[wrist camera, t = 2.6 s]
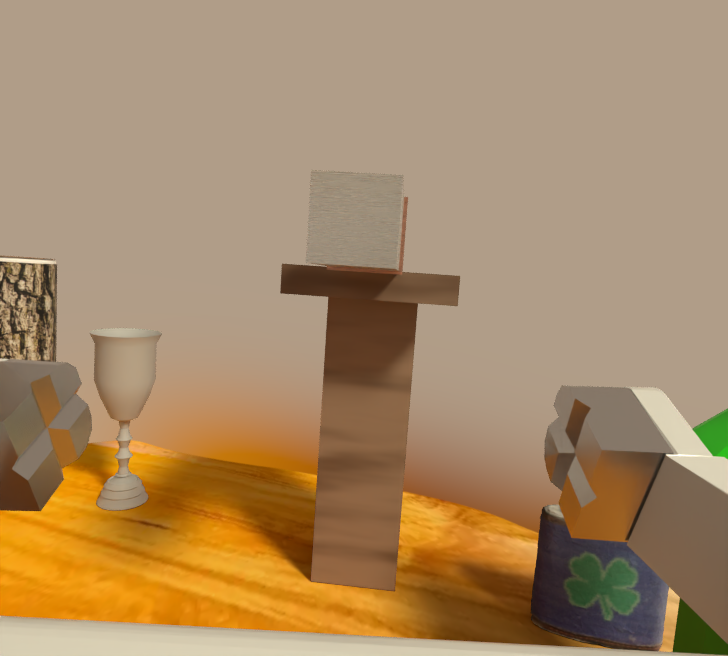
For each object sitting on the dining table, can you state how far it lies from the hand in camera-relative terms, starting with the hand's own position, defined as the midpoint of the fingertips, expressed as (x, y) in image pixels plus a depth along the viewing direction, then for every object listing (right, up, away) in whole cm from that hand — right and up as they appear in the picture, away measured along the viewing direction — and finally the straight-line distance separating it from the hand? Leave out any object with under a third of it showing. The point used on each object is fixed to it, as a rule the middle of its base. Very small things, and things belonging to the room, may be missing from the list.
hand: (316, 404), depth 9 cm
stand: (0, -20, +35) cm, 41 cm away
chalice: (-25, -17, +46) cm, 55 cm away
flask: (+18, -22, +30) cm, 41 cm away
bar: (+2, +6, +30) cm, 30 cm away
